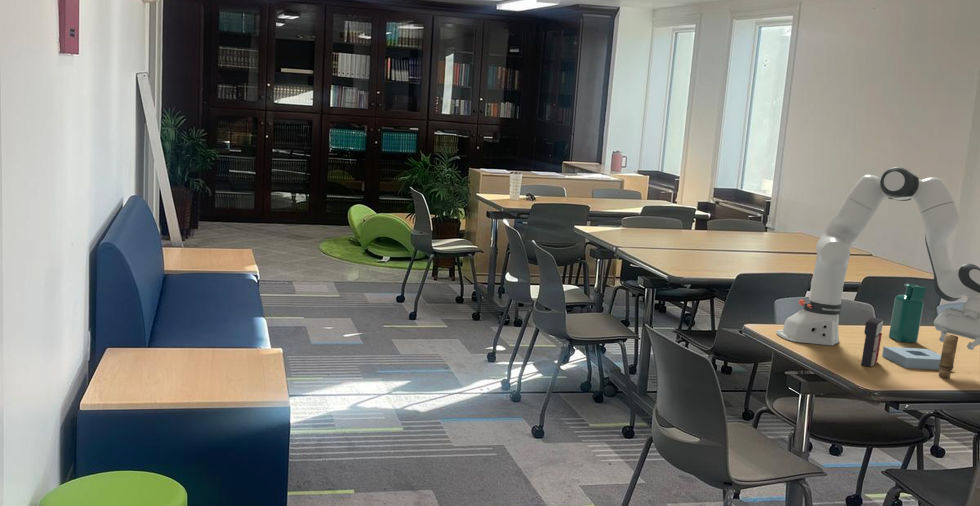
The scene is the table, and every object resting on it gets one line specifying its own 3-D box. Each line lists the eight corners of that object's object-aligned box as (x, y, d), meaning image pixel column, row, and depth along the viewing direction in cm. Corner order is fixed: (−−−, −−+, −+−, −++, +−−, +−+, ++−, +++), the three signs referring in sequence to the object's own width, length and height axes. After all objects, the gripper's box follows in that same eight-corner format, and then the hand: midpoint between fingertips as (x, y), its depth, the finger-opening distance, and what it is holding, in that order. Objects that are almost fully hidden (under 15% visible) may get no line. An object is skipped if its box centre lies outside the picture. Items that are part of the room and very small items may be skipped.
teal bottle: (886, 336, 359) (895, 281, 355) (907, 337, 360) (916, 282, 356) (900, 343, 349) (909, 286, 346) (921, 344, 350) (930, 287, 347)
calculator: (872, 368, 307) (879, 324, 305) (858, 365, 310) (865, 321, 307) (878, 361, 317) (885, 319, 314) (864, 359, 319) (871, 317, 316)
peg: (942, 378, 302) (949, 337, 300) (934, 374, 306) (941, 333, 304) (954, 379, 303) (961, 338, 300) (946, 375, 307) (953, 334, 305)
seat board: (904, 367, 312) (906, 357, 311) (882, 356, 326) (883, 346, 325) (950, 370, 314) (952, 360, 314) (926, 358, 328) (927, 349, 328)
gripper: (943, 300, 315) (922, 330, 311) (1004, 314, 299) (983, 346, 295) (947, 312, 319) (927, 342, 314) (1008, 327, 302) (988, 358, 298)
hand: (955, 344), depth 305 cm, fingers open, 8 cm apart
